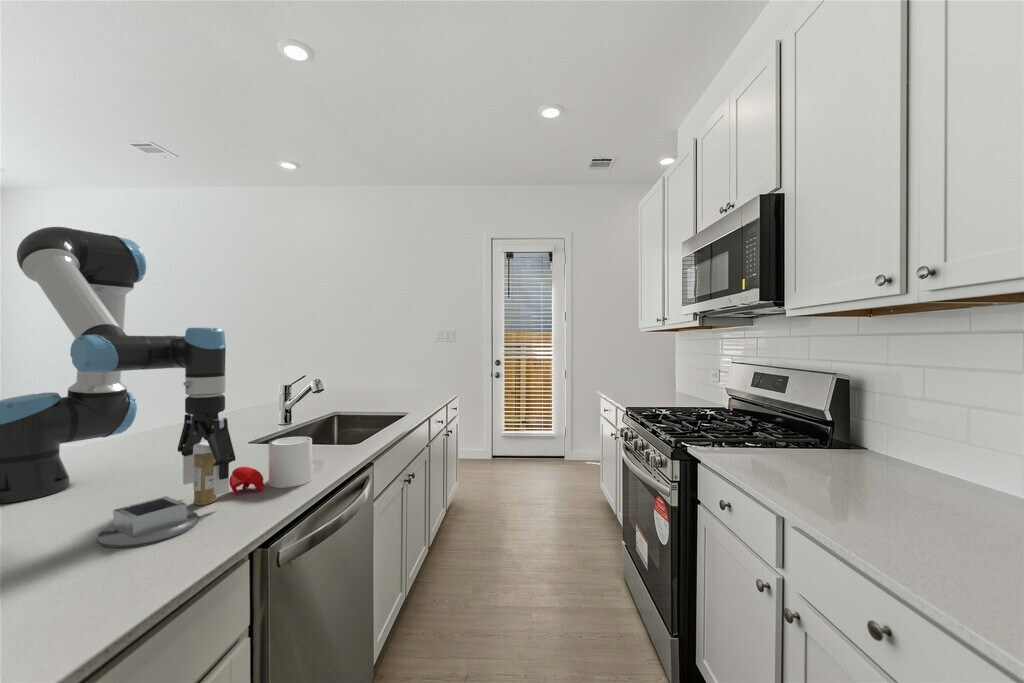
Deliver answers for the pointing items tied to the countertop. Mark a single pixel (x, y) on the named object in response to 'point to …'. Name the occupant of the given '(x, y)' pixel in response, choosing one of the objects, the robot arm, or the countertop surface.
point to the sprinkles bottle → (203, 474)
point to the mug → (290, 462)
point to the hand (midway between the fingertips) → (205, 488)
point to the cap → (246, 479)
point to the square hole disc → (147, 523)
